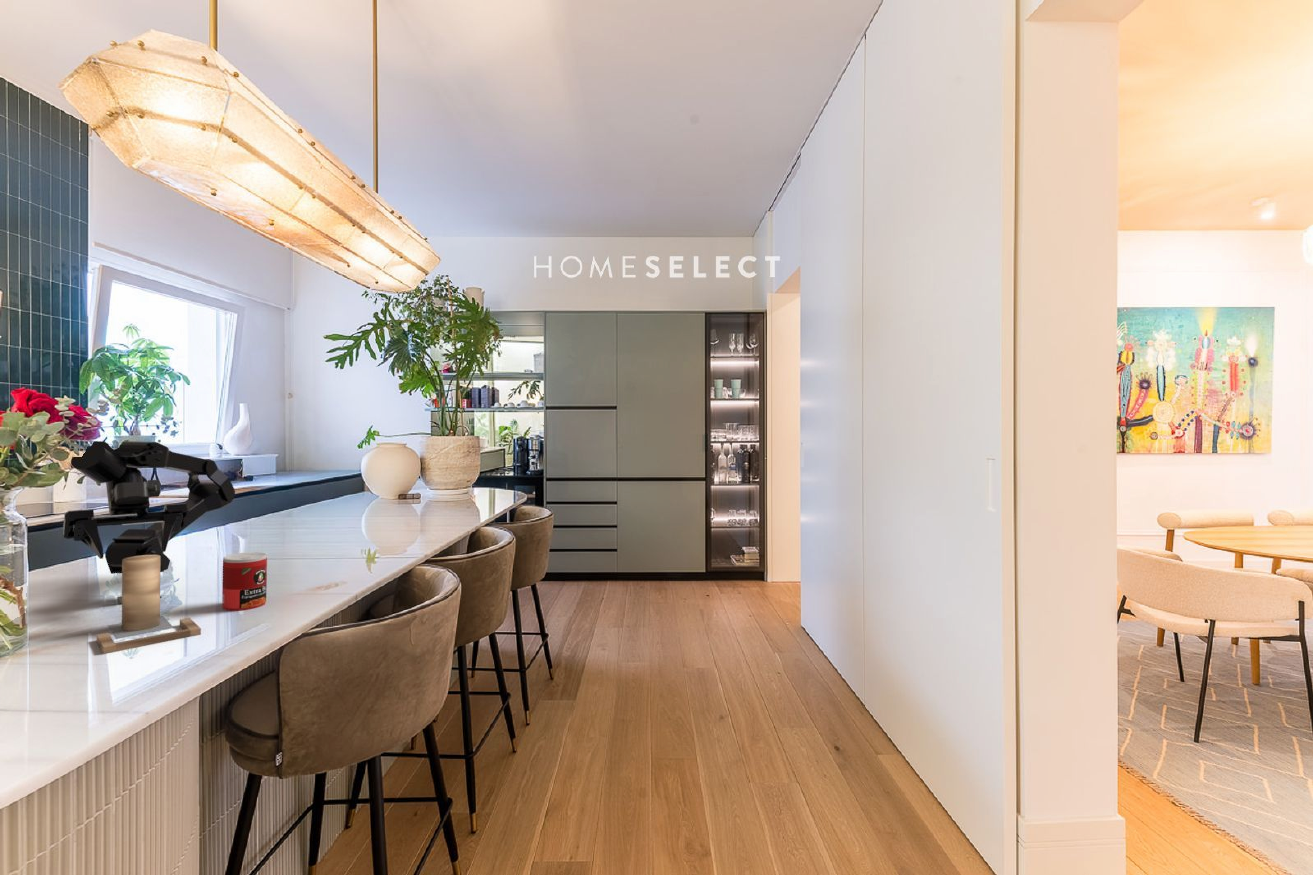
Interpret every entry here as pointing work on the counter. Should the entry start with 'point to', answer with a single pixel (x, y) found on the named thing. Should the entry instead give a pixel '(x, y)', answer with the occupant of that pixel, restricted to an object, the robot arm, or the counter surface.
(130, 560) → the pepper mill
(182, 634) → the walnut frame
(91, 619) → the counter surface
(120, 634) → the slate mat
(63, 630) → the counter surface
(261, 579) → the canned food
